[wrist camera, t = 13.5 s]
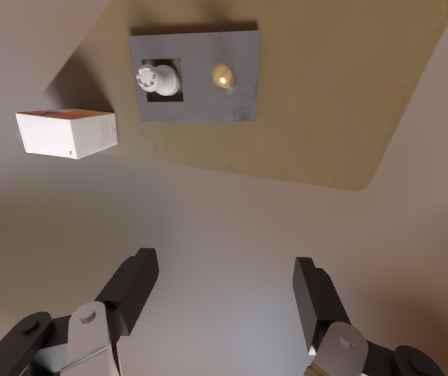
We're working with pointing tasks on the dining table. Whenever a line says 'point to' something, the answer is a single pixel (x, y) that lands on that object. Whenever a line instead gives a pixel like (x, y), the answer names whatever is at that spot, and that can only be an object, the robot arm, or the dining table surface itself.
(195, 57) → the bolt plate
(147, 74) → the rook chess piece
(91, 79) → the dining table surface
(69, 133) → the small box
